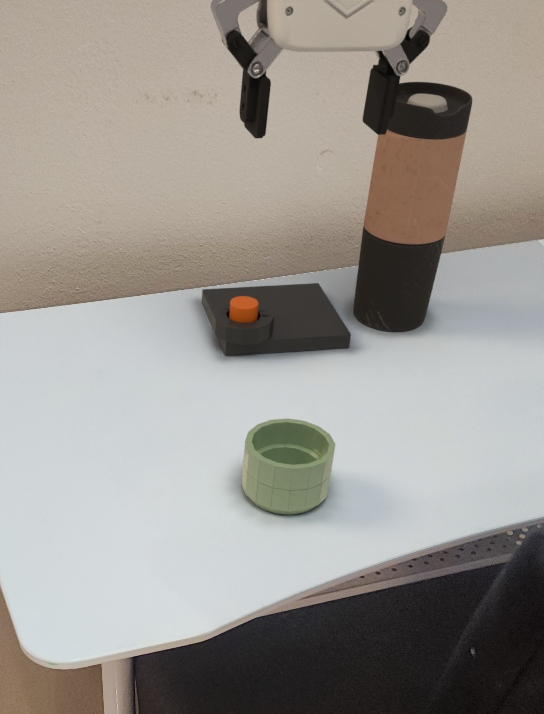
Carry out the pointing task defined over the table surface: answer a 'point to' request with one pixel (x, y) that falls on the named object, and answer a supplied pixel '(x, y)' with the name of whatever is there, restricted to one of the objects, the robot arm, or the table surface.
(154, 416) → the table surface
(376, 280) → the travel mug
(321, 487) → the bowl
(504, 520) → the table surface
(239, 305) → the button
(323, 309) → the scale
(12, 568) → the table surface
